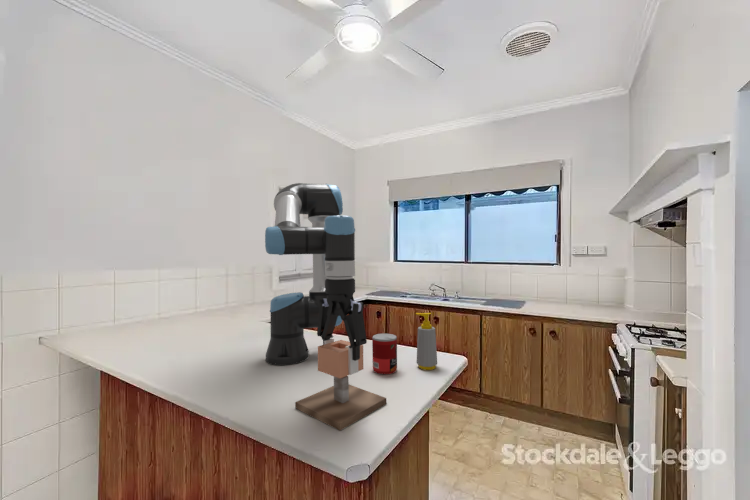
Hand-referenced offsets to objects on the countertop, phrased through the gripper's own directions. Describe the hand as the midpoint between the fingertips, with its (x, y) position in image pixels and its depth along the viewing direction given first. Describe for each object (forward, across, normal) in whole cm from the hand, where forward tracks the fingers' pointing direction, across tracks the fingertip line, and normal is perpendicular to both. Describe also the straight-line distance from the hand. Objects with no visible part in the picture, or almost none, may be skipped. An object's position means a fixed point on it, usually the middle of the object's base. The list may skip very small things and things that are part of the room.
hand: (341, 368), depth 82 cm
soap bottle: (+10, +2, +37) cm, 38 cm away
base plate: (+9, 0, 0) cm, 9 cm away
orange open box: (0, 0, 0) cm, 0 cm away
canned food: (+10, -7, +26) cm, 29 cm away
